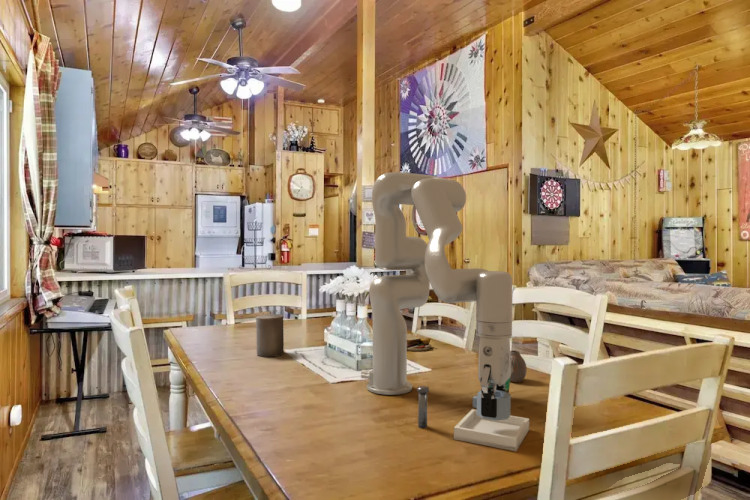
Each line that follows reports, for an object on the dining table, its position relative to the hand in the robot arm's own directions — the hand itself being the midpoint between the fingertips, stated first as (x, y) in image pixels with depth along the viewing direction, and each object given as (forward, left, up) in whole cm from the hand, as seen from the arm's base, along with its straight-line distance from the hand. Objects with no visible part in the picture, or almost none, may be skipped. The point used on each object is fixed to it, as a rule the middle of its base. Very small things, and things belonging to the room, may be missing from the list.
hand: (493, 410), depth 111 cm
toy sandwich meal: (-49, +70, -6) cm, 86 cm away
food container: (-4, +23, -5) cm, 24 cm away
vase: (-5, +44, -5) cm, 45 cm away
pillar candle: (-90, +36, -5) cm, 97 cm away
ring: (0, 0, -1) cm, 1 cm away
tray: (0, 0, -5) cm, 5 cm away
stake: (-15, -3, -5) cm, 16 cm away
